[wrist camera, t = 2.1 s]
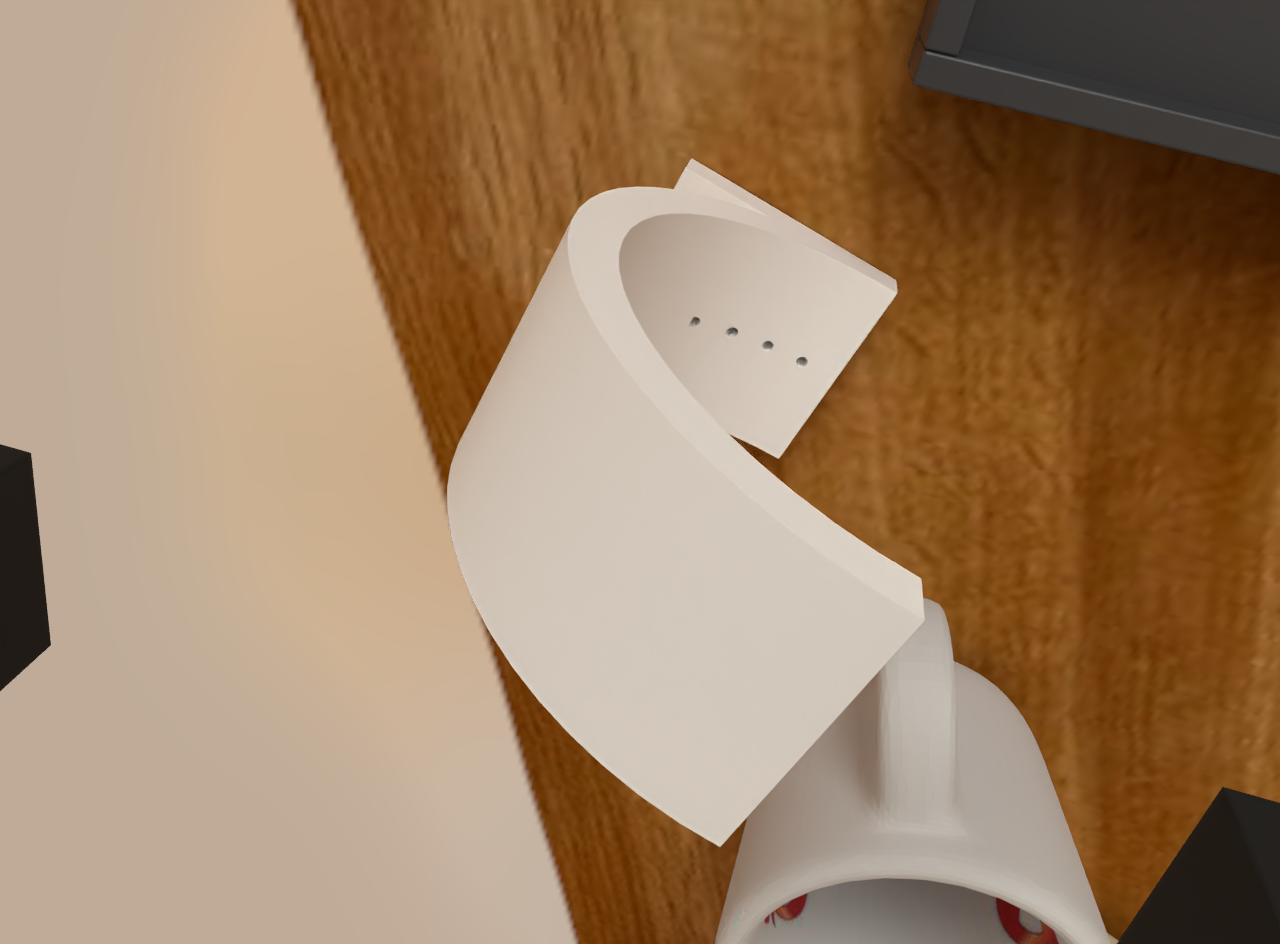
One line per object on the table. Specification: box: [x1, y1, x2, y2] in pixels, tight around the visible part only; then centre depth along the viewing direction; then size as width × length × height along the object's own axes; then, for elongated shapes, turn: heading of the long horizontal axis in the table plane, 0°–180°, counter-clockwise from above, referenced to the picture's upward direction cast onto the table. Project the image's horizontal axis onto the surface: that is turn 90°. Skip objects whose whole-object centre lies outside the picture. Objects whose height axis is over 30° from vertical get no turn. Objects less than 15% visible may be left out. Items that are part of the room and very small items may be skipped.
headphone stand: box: [447, 159, 925, 847], centre depth 18 cm, size 5×6×12 cm
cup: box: [715, 598, 1111, 944], centre depth 24 cm, size 11×8×8 cm
